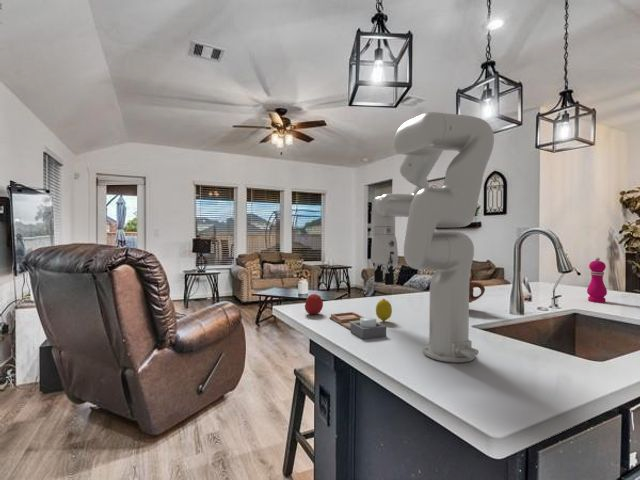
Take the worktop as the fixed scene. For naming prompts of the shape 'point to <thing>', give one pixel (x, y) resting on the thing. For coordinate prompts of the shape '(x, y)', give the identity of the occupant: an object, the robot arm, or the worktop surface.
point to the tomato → (313, 304)
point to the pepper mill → (597, 282)
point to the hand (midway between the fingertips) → (383, 282)
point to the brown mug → (471, 286)
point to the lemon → (383, 310)
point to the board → (346, 319)
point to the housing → (368, 331)
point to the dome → (367, 322)
